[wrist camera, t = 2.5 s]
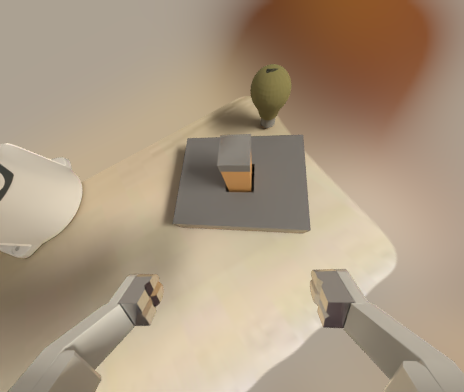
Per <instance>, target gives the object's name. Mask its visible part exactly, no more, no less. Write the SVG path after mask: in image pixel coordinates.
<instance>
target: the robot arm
mask: <svg viewBox="0 0 464 392" xmlns="http://www.w3.org/2000/svg"><path fill="white" fill-rule="evenodd" d="M81 199H82V184H81V181H80V178H79V177H78V176H77V174H75V172H74V171H73V170H72V168H71V163H70V161H69V160H68V159H66V158H63V157H60V158H54V159H48V158H46V157H44V156H41V155H39V154H36V153H33V152H31V151H28V150H26V149H23V148H21V147H18V146H16V145H13V144H9V143H6V144H0V251H2V252H5V253H7V254H10V255H12V256H15V257H17V258H28V257H29V256H31V255H32V254H33V253H34V252H35V251H36V250H37V249H38V248H39V247H40V246H41V245H42V244H43V243H45V242H46V241H48V240H50V239H51V238H53V237H55V236H56V235H57V234H59V233H60V232H61V231H62V230H63V229H64V228H65V227H66V226H67V225H68V224H69V223H70V221H71V220H72V219H73V217H74V216H75V214H76V212H77V210H78V208H79V205H80V202H81ZM311 276H312V280H311V281H310V291H311V295H312V298H313V301H314V303H315V304H317V305H318V310H317V312H318V315H319V318H320V320H321V323H322V326H323V327H324V328H344V331H346V333H347V334H348V335H349V336H350V337H351V338H352V339H353V340H354V341H355V342H356V344H357V345H358V346H359V347H360V348H361V349H362V350H363V351H364V352H365V353H366V354H367V355H368V356H369V357H370V358H371V360H372V361H373V362H374V363H375V364H376V365H377V366H378V367H379V368H380V369H381V370H382V371H383V372H384V374H385V375H386V376H387V377H388V378H389V379H390V382H389V383H388V384H387V386H386V387H385V389H384V391H383V392H464V373H463V372H462V371H461V370H460V369H459V367H458V366H457V365H456V364H455V363H454V362H453V361H452V360H451V359H449V358H448V357H447V356H445V355H444V354H442V353H441V352H440V351H438V350H437V349H436V348H434V347H433V346H432V345H430V344H429V343H427V342H426V341H425V340H423V339H422V338H420V337H419V336H417V335H416V334H415V333H413V332H412V331H411V330H409V329H408V328H407V327H405V326H404V325H402V324H401V323H400V322H398V321H397V320H395V319H394V318H393V317H391V316H390V315H388V314H387V313H386V312H384V311H383V310H382V309H380V308H379V307H377V306H376V305H375V304H373V303H369V302H368V301H367V299H366V298H365V296H364V295H363V293H362V292H361V290H360V289H359V287H358V286H357V284H356V283H355V281H354V279H353V278H352V276H351V275H350V273H349V272H348V271H347V270H346V269H323V270H312V271H311ZM159 279H160V278H159V277H158V275H157V274H130V275H129V276H127V277H126V279H125V280H124V281H123V283H122V284H121V286H120V287H119V288H118V290H117V291H116V292H115V294H114V295H113V297H112V298H111V299H110V301H109V302H108V304H104V305H103V306H101V307H100V308H99V309H97V310H96V311H94V312H93V313H92V314H90V315H89V316H88V317H86V318H85V319H84V320H82V321H81V322H80V323H78V324H77V325H76V326H74V327H73V328H71V329H70V330H69V331H67V332H66V333H65V334H63V335H62V336H61V337H59V338H58V339H57V340H55V341H54V342H52V343H51V344H50V345H48V346H47V347H46V348H44V350H43V351H42V352H41V353H40V354H39V355H38V357H37V358H36V359H35V360H34V361H33V363H32V364H31V365H30V366H29V367H28V368H27V370H26V371H25V372H24V373H23V374H22V375H21V377H20V378H19V379H18V380H17V381H16V383H15V384H14V385H13V386H12V387H11V388H10V390H9V391H8V392H95V391H96V389H97V387H98V385H99V383H100V381H101V375H100V374H98V373H97V372H96V371H95V369H96V368H97V367H98V366H99V365H100V364H101V362H102V361H103V360H104V359H105V358H106V357H107V356H108V355H109V354H110V353H111V352H112V351H113V350H114V348H115V347H116V346H117V345H118V344H119V343H120V342H121V341H122V340H123V339H124V338H125V337H126V336H127V334H128V333H129V332H130V331H131V330H132V329H133V328H134V326H150V325H151V323H152V320H153V318H154V316H155V314H156V306H157V305H158V304H159V303H160V302H161V300H162V298H163V292H164V289H163V285H162V284H161V283H160V282H159Z"/></svg>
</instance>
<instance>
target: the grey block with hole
mask: <svg viewBox="0 0 464 392" xmlns="http://www.w3.org/2000/svg"><path fill="white" fill-rule="evenodd" d="M219 143H220V137H215V138H188V139H187V145H186V151H185V156H184V162H183V168H182V173H181V179H180V185H179V191H178V196H177V202H176V208H175V213H174V219H173V224H175V225H178V226H181V227H186V228H205V229H225V230H245V231H264V232H284V233H305V232H308V231H310V218H309V205H308V192H307V179H306V166H305V153H304V140H303V135H280V136H251V160H252V192H229V190H228V188H227V185H226V183H225V181H224V178H223V176H222V174H221V172H220V171H219V169H218V166H217V162H218V153H219Z"/></svg>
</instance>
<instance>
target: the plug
mask: <svg viewBox="0 0 464 392" xmlns="http://www.w3.org/2000/svg"><path fill="white" fill-rule="evenodd" d="M217 166H218V169H219V171H220V172H221V174H222V176H223V178H224V181H225V183H226V185H227V188H228V190H229V192H252V160H251V134H243V135H220V143H219V153H218V162H217Z"/></svg>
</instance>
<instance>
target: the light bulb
mask: <svg viewBox="0 0 464 392" xmlns="http://www.w3.org/2000/svg"><path fill="white" fill-rule="evenodd" d="M290 92H291V79H290V76H289V74H288V72H287V71H286V70H285V69H284V68H283V67H282V66H279V65H274V64H272V65H267V66H265V67H263V68H262V69H260V70H259V71H258V72H257V74H256V75H255V77H254V79H253V81H252V84H251V98H252V101H253V103H254V105H255V106H256V108H257V109H258V111H259V115H260V117H261V125H262V126H263V127H265V128H269V127H272V126H273V125H274V123H275V117H276V116H277V114H278V111H279V110H280V108H282V107H283V106H284V104H285V103H286V101H287V99H288V98H289V95H290Z"/></svg>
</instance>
